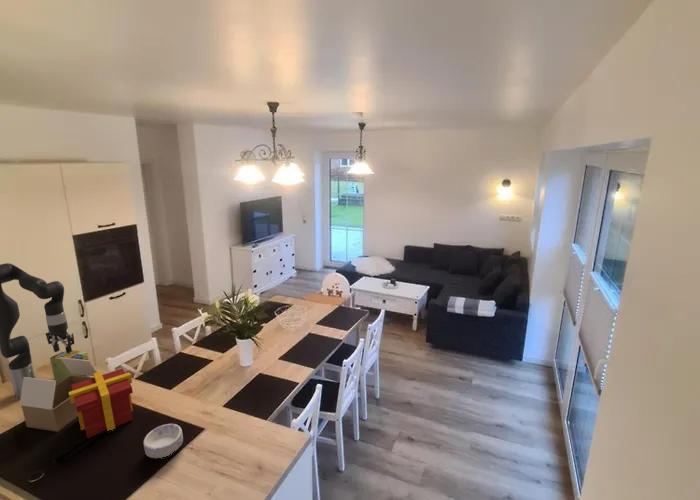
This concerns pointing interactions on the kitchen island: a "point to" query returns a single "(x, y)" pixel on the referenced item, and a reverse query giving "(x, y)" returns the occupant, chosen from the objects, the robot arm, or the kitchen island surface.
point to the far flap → (79, 366)
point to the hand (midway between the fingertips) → (63, 351)
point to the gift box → (103, 401)
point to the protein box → (60, 369)
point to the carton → (55, 408)
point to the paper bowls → (163, 441)
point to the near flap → (37, 393)
